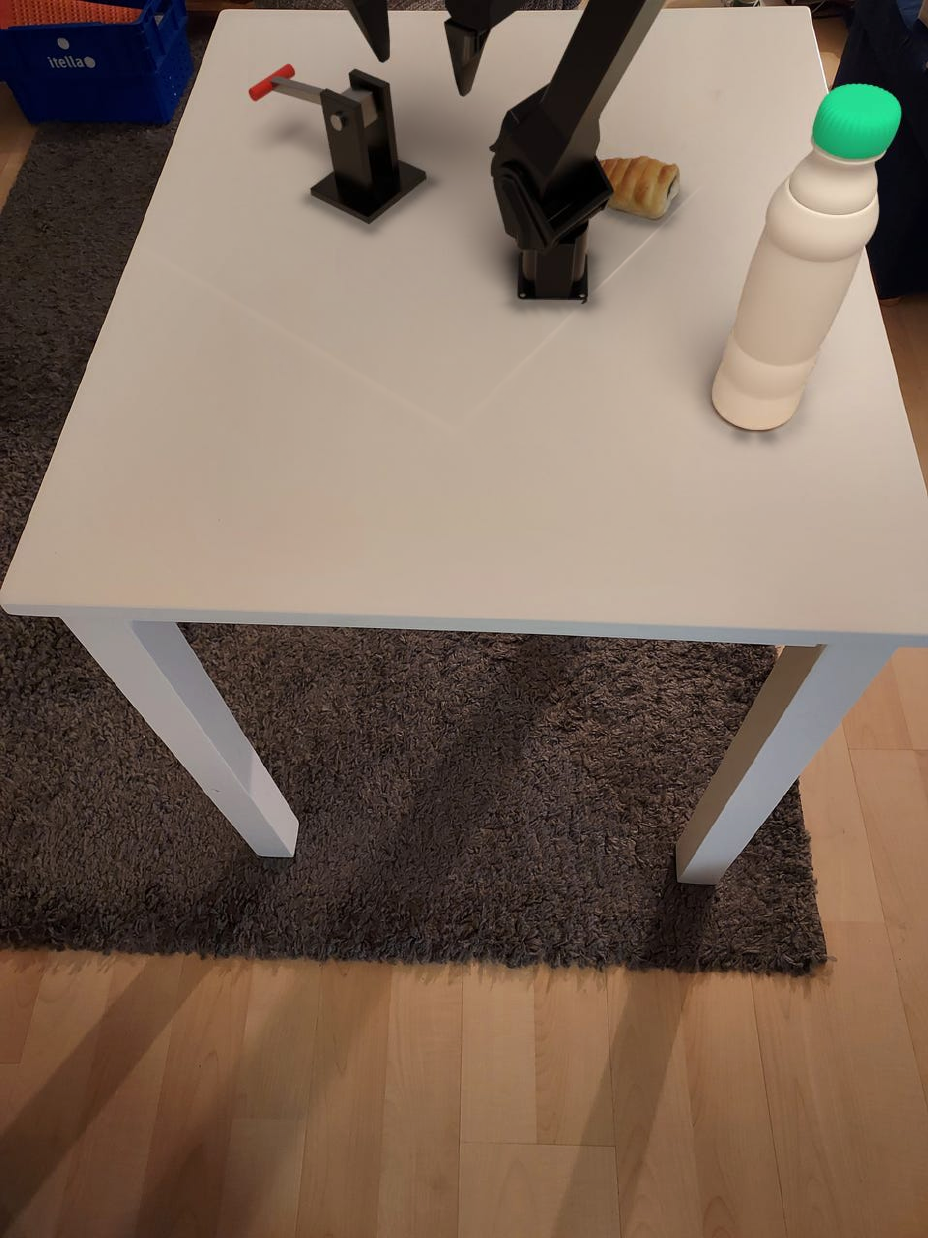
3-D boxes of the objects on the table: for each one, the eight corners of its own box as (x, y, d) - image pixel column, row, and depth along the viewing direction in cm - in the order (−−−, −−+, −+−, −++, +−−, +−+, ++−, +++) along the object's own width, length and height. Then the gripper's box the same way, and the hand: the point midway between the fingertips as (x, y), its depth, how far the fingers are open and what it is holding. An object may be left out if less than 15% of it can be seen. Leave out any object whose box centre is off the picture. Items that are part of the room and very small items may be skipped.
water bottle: (799, 380, 72) (929, 74, 50) (790, 441, 69) (925, 143, 47) (716, 365, 73) (808, 60, 51) (703, 425, 70) (796, 126, 48)
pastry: (572, 205, 84) (575, 169, 81) (595, 167, 87) (599, 130, 84) (661, 227, 82) (668, 191, 79) (682, 188, 85) (690, 151, 82)
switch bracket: (312, 198, 87) (290, 96, 78) (369, 155, 90) (355, 52, 81) (369, 228, 84) (353, 125, 75) (426, 182, 87) (418, 78, 78)
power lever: (252, 106, 85) (244, 80, 83) (290, 81, 87) (283, 55, 85) (351, 137, 79) (345, 111, 77) (389, 109, 81) (384, 82, 79)
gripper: (579, -165, 60) (564, 67, 73) (382, -219, 66) (402, 5, 79) (483, -103, 56) (487, 130, 69) (283, -167, 62) (322, 59, 75)
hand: (424, 76), depth 73 cm, fingers open, 9 cm apart
